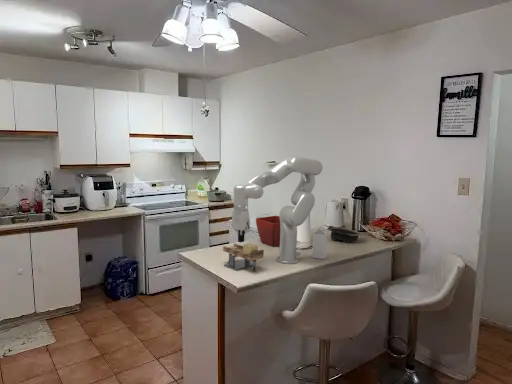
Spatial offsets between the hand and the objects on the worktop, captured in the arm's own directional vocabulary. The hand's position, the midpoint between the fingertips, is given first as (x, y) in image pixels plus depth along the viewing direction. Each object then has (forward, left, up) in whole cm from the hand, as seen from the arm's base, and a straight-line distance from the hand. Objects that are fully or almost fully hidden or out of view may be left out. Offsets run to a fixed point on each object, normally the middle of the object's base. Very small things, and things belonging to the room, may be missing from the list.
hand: (241, 241), depth 193 cm
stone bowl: (-95, +7, -14) cm, 96 cm away
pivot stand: (+1, +2, -13) cm, 13 cm away
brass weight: (+1, +9, -5) cm, 10 cm away
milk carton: (-46, +19, -13) cm, 52 cm away
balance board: (+1, +2, -6) cm, 7 cm away
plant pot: (-48, -19, -14) cm, 53 cm away
